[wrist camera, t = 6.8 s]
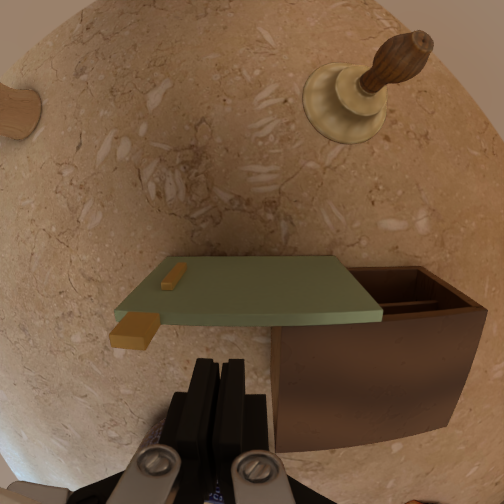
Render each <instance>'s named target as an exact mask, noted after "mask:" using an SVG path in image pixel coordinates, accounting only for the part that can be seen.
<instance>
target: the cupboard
mask: <svg viewBox="0 0 504 504" xmlns="http://www.w3.org/2000/svg"><path fill="white" fill-rule="evenodd" d="M346 269H347V270H348V271H349V272H350V273H351V274H352V275H353V277H354V278H355V279H356V280H357V281H358V282H359V283H360V284H361V285H362V287H363V288H364V289H365V290H366V291H367V292H368V293H369V294H370V295H371V297H372V298H373V299H374V300H375V301H376V302H377V303H378V305H379V306H380V307H381V308H382V309H383V316H382V321H381V322H367V323H351V324H332V325H306V326H271V357H270V377H271V393H272V408H273V424H274V440H275V453H288V452H305V451H317V450H328V449H337V448H345V447H353V446H359V445H366V444H372V443H378V442H383V441H389V440H394V439H398V438H403V437H408V436H412V435H416V434H420V433H424V432H428V431H432V430H436V429H439V428H443V427H446V426H447V425H448V422H449V420H450V418H451V416H452V414H453V411H454V409H455V407H456V405H457V402H458V400H459V397H460V395H461V393H462V390H463V387H464V385H465V382H466V380H467V377H468V374H469V372H470V369H471V366H472V363H473V360H474V357H475V354H476V351H477V348H478V345H479V341H480V338H481V334H482V331H483V327H484V324H485V320H486V316H487V312H488V310H487V309H486V308H484V307H483V306H481V305H480V304H478V303H477V302H475V301H474V300H472V299H471V298H469V297H468V296H467V295H465V294H464V293H462V292H461V291H459V290H457V289H456V288H454V287H453V286H451V285H450V284H448V283H447V282H445V281H444V280H442V279H441V278H439V277H437V276H436V275H434V274H433V273H431V272H430V271H428V270H426V269H425V268H423V267H421V266H408V267H362V268H346Z"/></svg>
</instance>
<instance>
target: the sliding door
mask: <svg viewBox="0 0 504 504" xmlns="http://www.w3.org/2000/svg"><path fill="white" fill-rule="evenodd" d="M114 313H115V319H116V321H117V322H119V323H118V324H117V326H116V327H115V328H114V329H113V330H112V331H111V333H110V334H109V339H110V343H111V347H113V348H123V349H134V350H146V349H147V347H148V345H149V344H150V342H151V340H152V338H153V337H154V335H155V333H156V332H157V330H158V328H159V327H160V325H161V324H165V325H190V326H306V325H332V324H351V323H367V322H381V321H382V316H383V309H382V308H381V307H380V306H379V305H378V303H377V302H376V301H375V300H374V299H373V298H372V297H371V295H370V294H369V293H368V292H367V291H366V290H365V289H364V288H363V287H362V285H361V284H360V283H359V282H358V281H357V280H356V279H355V278H354V277H353V275H352V274H351V273H350V272H349V271H348V270H347V269H346V268H345V267H344V266H343V264H342V263H341V262H340V261H339V260H338V259H337V258H336V257H335V256H199V257H167V258H166V259H164V260H163V261H162V262H161V263H160V264H159V265H158V266H157V267H156V268H155V269H154V270H153V271H152V272H151V273H150V274H149V275H148V276H147V277H146V278H145V279H144V280H143V281H142V282H141V283H140V284H139V285H138V286H137V287H136V288H135V289H134V290H133V291H132V292H131V293H130V294H129V295H128V296H127V297H126V299H125V300H124V301H123V302H122V303H121V304H120V305H119V306H118V307H117V308H116V309H115V310H114Z"/></svg>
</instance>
